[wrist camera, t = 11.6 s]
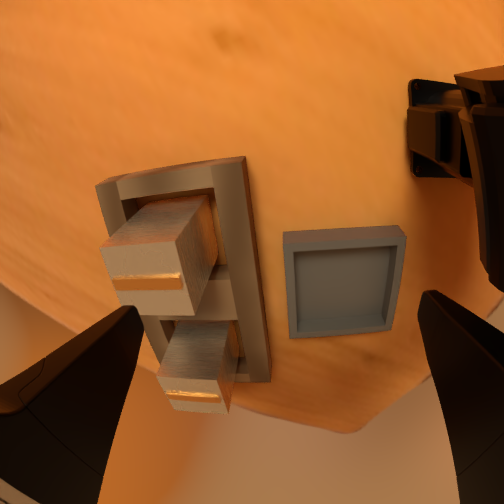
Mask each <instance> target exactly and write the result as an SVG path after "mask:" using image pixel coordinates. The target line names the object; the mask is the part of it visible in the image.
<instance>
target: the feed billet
mask: <svg viewBox="0 0 504 504" xmlns="http://www.w3.org/2000/svg"><path fill="white" fill-rule="evenodd" d="M239 351H240V349H239V344H238V340H237V335H236V330H235V326H234V321H233V320H179V321H178V323H177V326H176V328H175V331H174V333H173V335H172V338H171V340H170V343H169V345H168V347H167V350H166V352H165V355H164V357H163V360H162V362H161V365H160V367H159V370H158V372H157V375H156V377H157V379H158V381H159V383H160V385H161V386H162V388H163V390H164V392H165V394H166V396H167V397H168V399H169V401H170V403H171V404H172V406H173V408H174V409H175V410H181V411H192V412H203V413H218V414H229V409H230V403H231V397H232V392H233V386H234V380H235V374H236V368H237V363H238V357H239Z"/></svg>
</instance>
